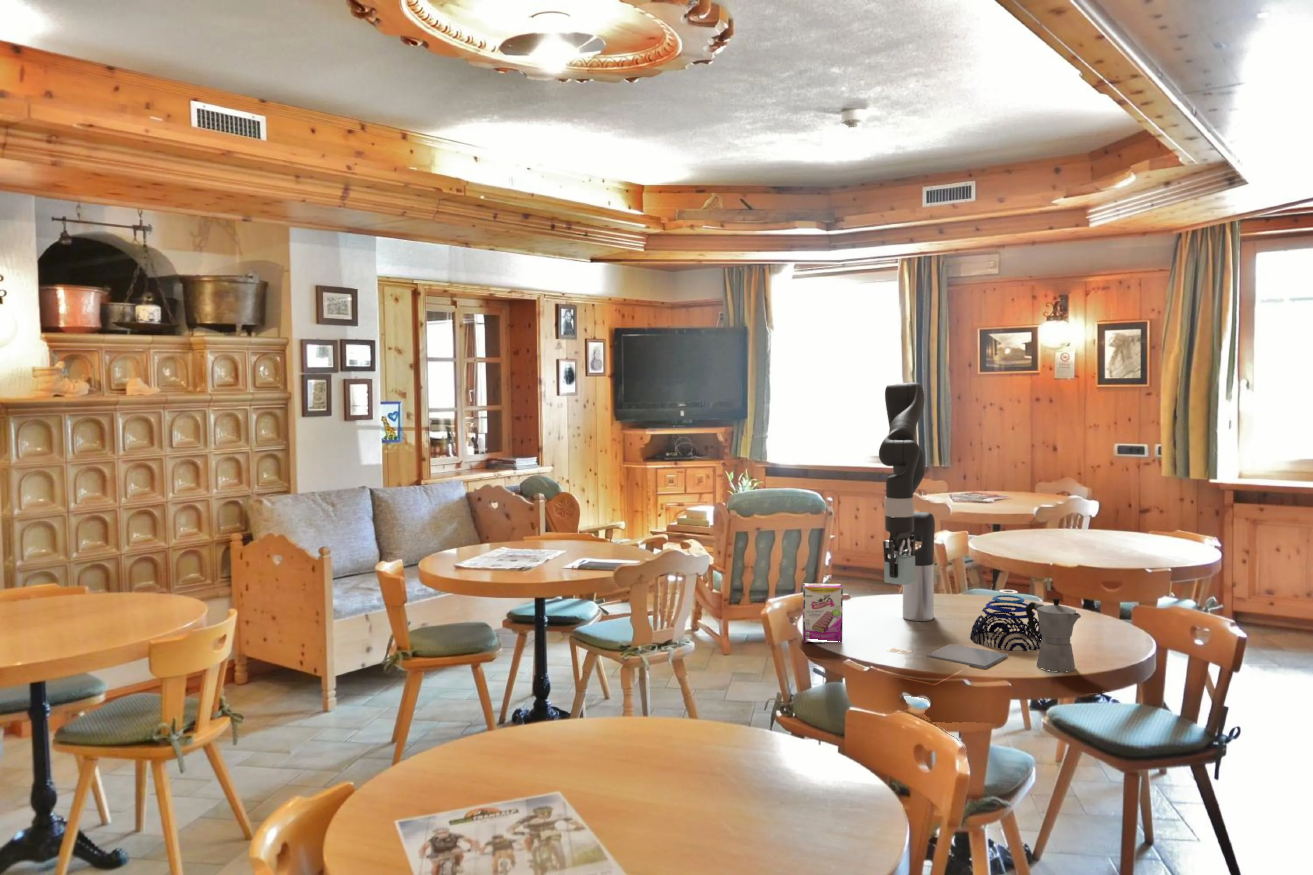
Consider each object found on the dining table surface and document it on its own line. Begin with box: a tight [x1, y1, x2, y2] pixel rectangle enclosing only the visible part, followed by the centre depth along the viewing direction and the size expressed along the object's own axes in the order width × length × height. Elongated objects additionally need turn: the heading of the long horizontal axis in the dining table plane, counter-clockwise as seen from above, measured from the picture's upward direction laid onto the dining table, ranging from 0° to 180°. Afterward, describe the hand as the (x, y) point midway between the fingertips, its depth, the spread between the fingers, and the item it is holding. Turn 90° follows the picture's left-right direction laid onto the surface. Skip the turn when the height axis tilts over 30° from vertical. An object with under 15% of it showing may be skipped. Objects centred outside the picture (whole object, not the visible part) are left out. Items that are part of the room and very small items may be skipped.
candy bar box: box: [802, 582, 844, 644], centre depth 269 cm, size 11×5×16 cm, turn 84°
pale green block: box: [883, 554, 915, 586], centre depth 256 cm, size 6×6×7 cm
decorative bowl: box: [969, 589, 1042, 652], centre depth 266 cm, size 20×20×14 cm
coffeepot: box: [1025, 597, 1082, 673], centre depth 242 cm, size 15×9×18 cm, turn 33°
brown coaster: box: [887, 647, 913, 655], centre depth 257 cm, size 14×14×1 cm
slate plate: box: [926, 643, 1008, 670], centre depth 251 cm, size 14×16×1 cm
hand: (899, 575), depth 256 cm, fingers closed on pale green block, 6 cm apart
